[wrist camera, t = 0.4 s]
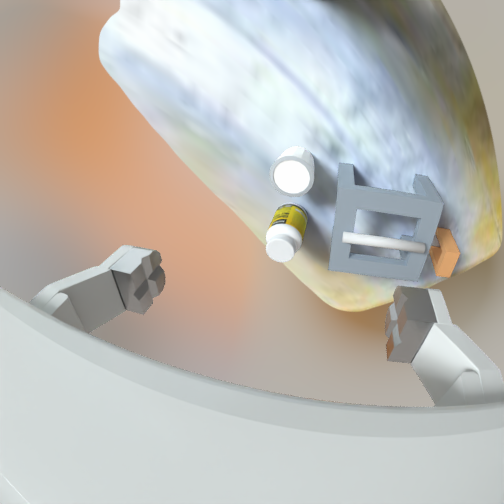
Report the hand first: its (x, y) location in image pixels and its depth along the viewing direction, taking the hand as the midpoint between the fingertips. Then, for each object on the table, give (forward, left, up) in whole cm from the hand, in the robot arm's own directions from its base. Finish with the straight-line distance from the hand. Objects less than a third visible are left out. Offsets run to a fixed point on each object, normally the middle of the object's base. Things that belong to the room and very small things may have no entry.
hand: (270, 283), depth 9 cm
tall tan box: (+23, +24, -40) cm, 52 cm away
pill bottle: (+22, -6, -40) cm, 46 cm away
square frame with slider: (+18, +10, -40) cm, 45 cm away
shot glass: (+11, -5, -40) cm, 42 cm away
